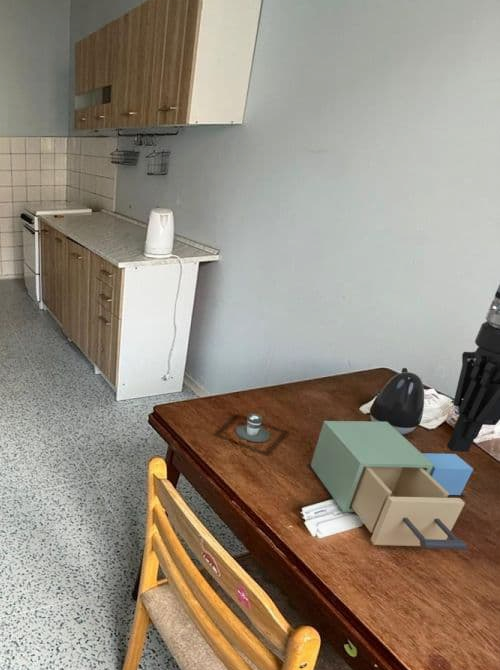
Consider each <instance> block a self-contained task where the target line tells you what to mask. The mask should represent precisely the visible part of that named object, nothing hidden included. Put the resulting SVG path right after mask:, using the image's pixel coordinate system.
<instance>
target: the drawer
mask: <svg viewBox="0 0 500 670" xmlns="http://www.w3.org/2000/svg"><path fill="white" fill-rule="evenodd" d="M449 496H450V495H449V493H448V492H447V491H446V490H445V489H444V488H443V487H442V486H441V485H440V484H439V483H438V482H437V481H436V480H435V479H434V478H433V477H432V476H431V475H429V474H428V473H427V472H426V471H425V470H424V469H423V468H411V467H364V468H363V471H362V473H361V476H360V479H359V482H358V484H357V487H356V490H355V493H354V495H353V498H352V501H351V504H350V505H351V507H352V508H353V509H354V511H355V512H354V513H355V514H356V515H357V516H358V518H359V520H360V521H361V522H362V523H363V524H364V526H365V527H366V528H367V530H368V531H369V532H370V534H372V535H371V537H370V541H371V543H372V544H373V545H374V546H399V547H401V546H402V547H403V546H405V547H421V548H422V549H426V550H427V549H428V550H429V549H430V550H431V549H432V550H466V549H467V546H468V545H467V543H466V541H465V540H463V539H459V538H458V537H457V536H456V535H455V534H454V533H453V532H452V530H453V528H454V526H455V524H456V522H457V520H458V518H459V516H460V514H461V513H462V510H463V508H464V506H465V504H466V502H465V501H464V500H463V499H461V498H460V497H449ZM448 538H449V539H448Z"/></svg>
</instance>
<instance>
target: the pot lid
mask: <svg viewBox="0 0 500 670" xmlns="http://www.w3.org/2000/svg"><path fill="white" fill-rule="evenodd" d="M246 420H247V421H246V424H241V425H239V426H237V427H236V429H235V433H236V435H237V436H238V437H239V438H241V439H243V440H245V441H247V442H252V443H265V442H267V441H269V440H270V438H271V434H270V432H269V431H268V430H267V429H265V428H264V427H261V425H262V424H263V416H262V415H261V414H258V413H249V414H248V415H247V417H246Z"/></svg>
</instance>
